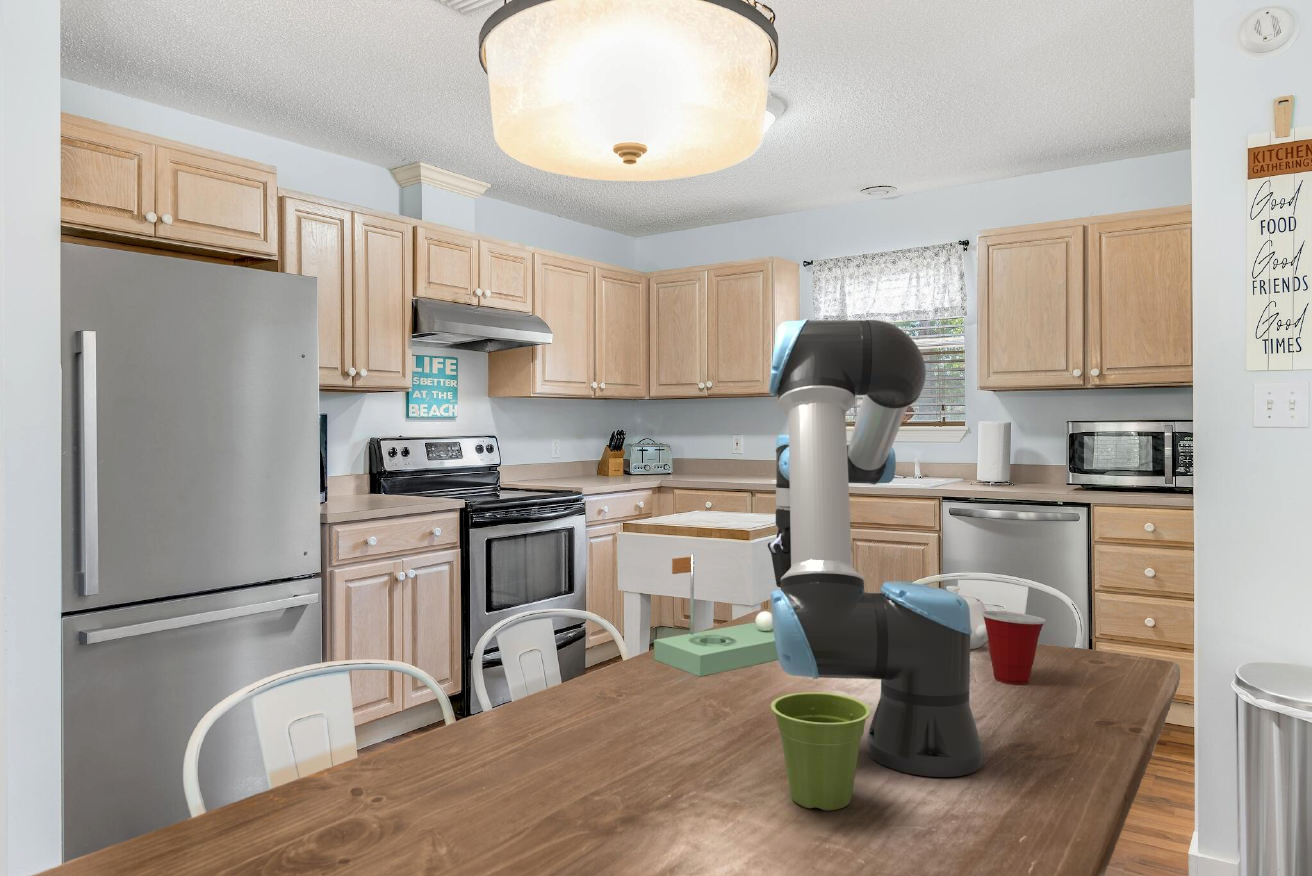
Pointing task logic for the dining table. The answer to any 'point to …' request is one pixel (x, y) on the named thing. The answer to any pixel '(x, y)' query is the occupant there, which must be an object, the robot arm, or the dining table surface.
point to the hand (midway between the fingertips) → (792, 620)
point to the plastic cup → (1012, 644)
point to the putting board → (717, 649)
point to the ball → (764, 621)
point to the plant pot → (820, 746)
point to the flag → (688, 566)
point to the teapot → (975, 618)
